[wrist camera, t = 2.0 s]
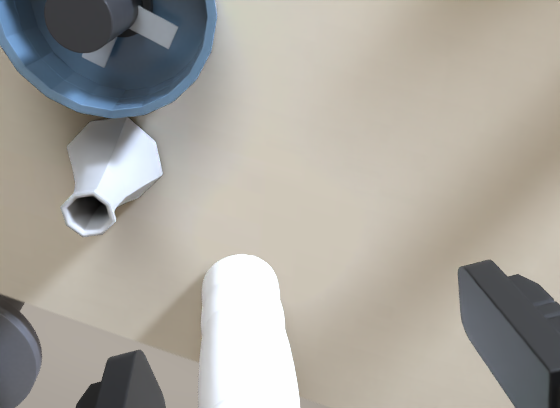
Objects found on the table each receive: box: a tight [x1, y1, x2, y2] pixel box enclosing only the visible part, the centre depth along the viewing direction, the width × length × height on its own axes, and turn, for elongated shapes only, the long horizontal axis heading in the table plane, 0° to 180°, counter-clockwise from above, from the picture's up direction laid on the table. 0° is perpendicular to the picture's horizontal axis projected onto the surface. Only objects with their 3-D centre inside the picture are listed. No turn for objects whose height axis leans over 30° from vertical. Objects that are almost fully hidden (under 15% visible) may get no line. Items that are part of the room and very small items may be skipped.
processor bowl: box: [0, 0, 217, 119], centre depth 32 cm, size 13×13×6 cm
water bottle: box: [198, 254, 300, 408], centre depth 36 cm, size 7×7×25 cm
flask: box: [60, 117, 163, 237], centre depth 36 cm, size 7×7×10 cm
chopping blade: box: [44, 0, 178, 68], centre depth 29 cm, size 8×8×12 cm
